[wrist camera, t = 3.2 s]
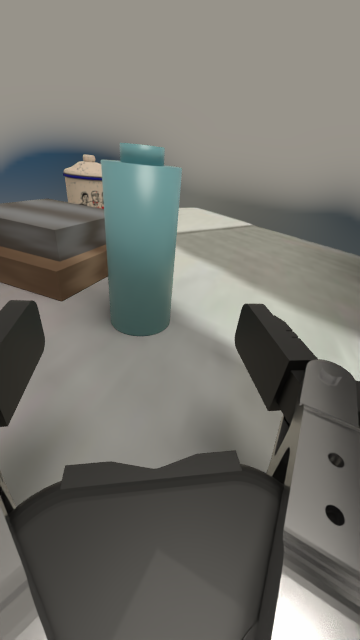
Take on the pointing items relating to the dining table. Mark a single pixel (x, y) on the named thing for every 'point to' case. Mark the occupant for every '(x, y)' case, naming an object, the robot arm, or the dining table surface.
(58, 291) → the tower base
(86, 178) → the teacup with lid
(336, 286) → the dining table surface
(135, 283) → the teal bottle
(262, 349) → the robot arm
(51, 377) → the dining table surface
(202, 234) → the dining table surface
